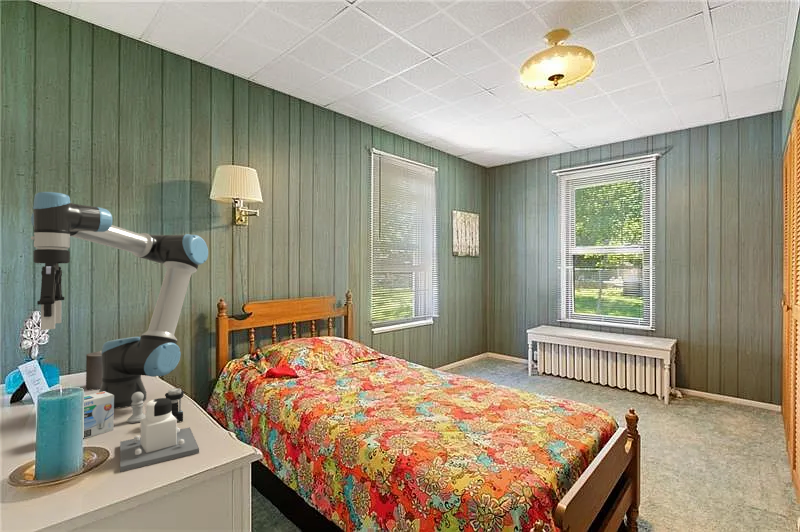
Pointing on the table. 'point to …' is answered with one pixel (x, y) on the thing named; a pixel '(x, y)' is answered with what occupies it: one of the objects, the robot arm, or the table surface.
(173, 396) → the push button
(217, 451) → the table surface
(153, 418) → the medicine bottle
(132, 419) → the chess piece
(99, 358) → the pillar candle
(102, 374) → the robot arm
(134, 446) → the pin tray
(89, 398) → the light bulb box
